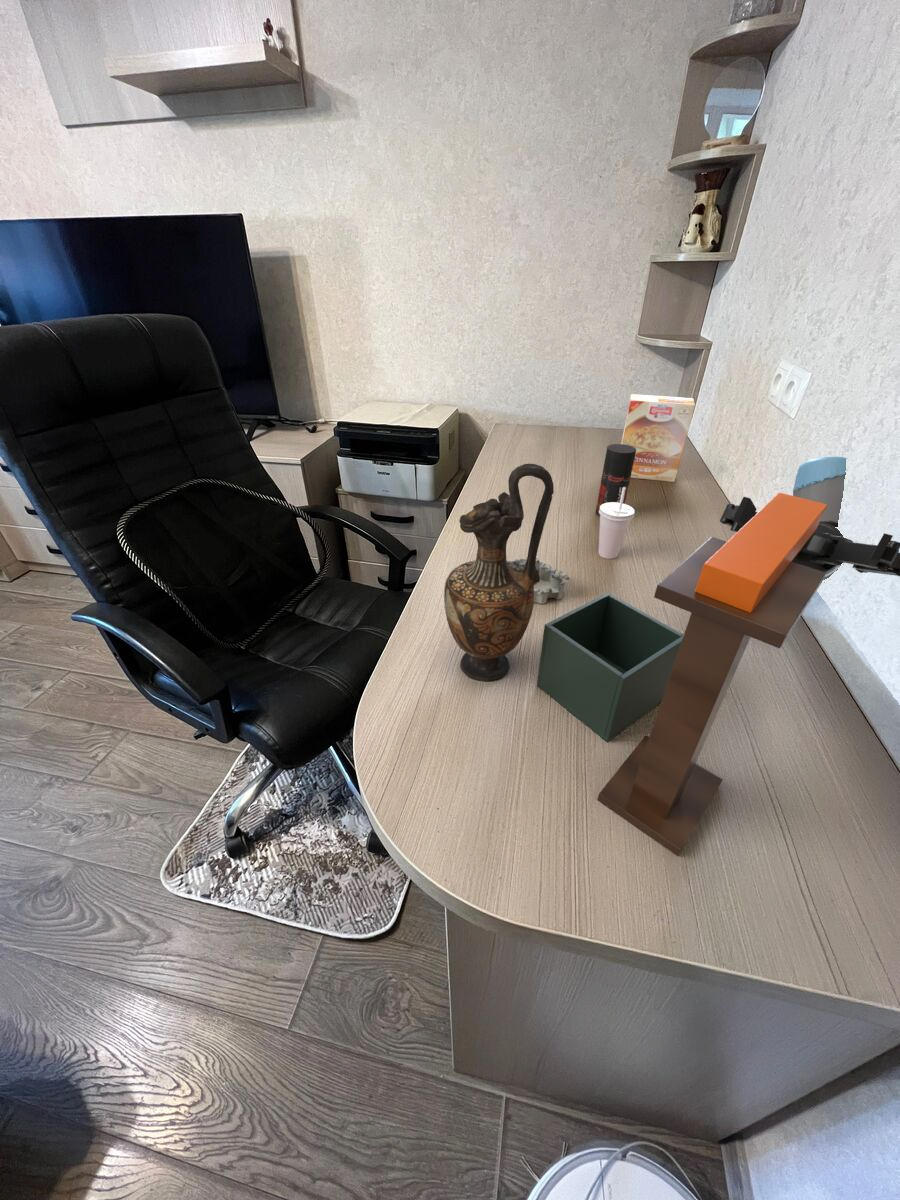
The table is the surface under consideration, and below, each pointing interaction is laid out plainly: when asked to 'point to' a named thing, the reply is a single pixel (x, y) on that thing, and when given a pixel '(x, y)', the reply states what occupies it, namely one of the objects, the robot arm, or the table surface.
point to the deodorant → (615, 474)
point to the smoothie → (613, 526)
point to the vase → (495, 581)
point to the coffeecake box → (657, 434)
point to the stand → (698, 697)
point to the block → (760, 552)
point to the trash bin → (607, 663)
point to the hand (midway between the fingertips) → (806, 526)
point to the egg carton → (546, 581)
